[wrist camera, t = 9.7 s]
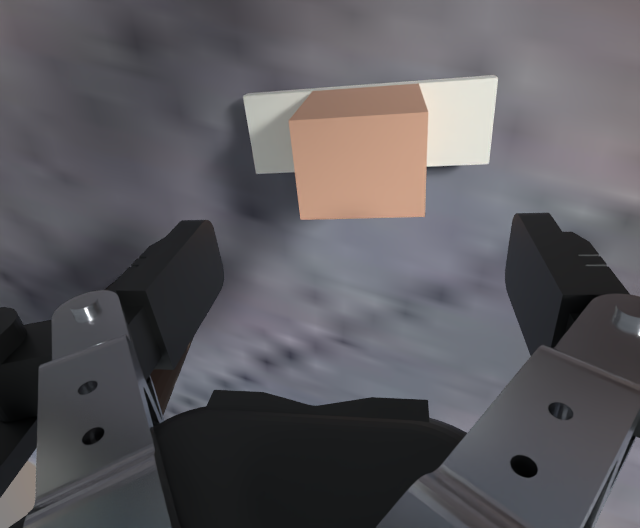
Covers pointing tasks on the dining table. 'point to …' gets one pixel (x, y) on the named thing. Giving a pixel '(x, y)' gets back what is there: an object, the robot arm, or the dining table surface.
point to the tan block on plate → (370, 141)
